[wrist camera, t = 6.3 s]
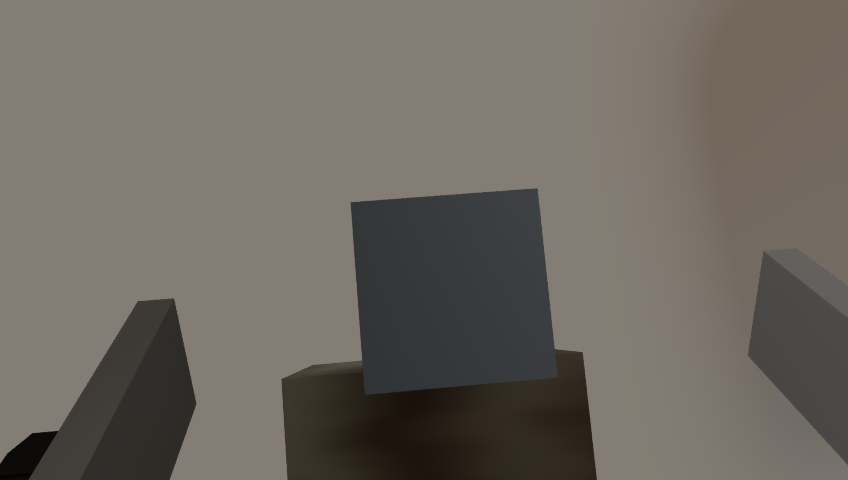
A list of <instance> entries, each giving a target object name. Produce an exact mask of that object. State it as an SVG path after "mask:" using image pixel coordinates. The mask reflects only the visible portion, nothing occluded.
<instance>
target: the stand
mask: <svg viewBox="0 0 848 480" xmlns="http://www.w3.org/2000/svg"><path fill="white" fill-rule="evenodd" d="M555 357H556V367H557V376H558V377H555V378H544V379H533V380H522V381H511V382H500V383H489V384H478V385H467V386H456V387H445V388H434V389H423V390H412V391H401V392H390V393H379V394H368V395H365V390H364V376H363V363H362V361H354V362H343V363H331V364H320V365H312V366H310V367H308V368H306V369H303V370H301V371H299V372H296V373H294V374H292V375H290V376H288V377H285V378H283V379H282V394H283V410H284V428H285V444H286V461H287V476H288V477H287V478H288V480H597V477H596V468H595V459H594V451H593V442H592V432H591V423H590V414H589V405H588V398H587V397H588V396H587V387H586V378H585V369H584V360H583V353H582V352H575V351H566V350H556V349H555Z"/></svg>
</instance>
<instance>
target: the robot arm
mask: <svg viewBox="0 0 848 480" xmlns="http://www.w3.org/2000/svg"><path fill="white" fill-rule="evenodd" d="M748 356H749V357H750V358H751V359H752V361H753V362H754V363H755V364H756V365H757V366H758V367H759V368H760V369H761V370H762V371H763V373H764V374H765V375H766V376H767V377H768V378H769V379H770V380H771V381H772V382H773V383H774V385H775V386H776V387H777V388H778V389H779V390H780V391H781V392H782V393H783V394H784V396H785V397H786V398H787V399H788V400H789V401H790V402H791V403H792V404H793V405H794V406H795V408H796V409H797V410H798V411H799V412H800V413H801V414H802V415H803V416H804V417H805V418H806V419H807V420H808V422H809V423H810V424H811V425H812V426H813V427H814V428H815V429H816V430H817V432H818V433H819V434H820V435H821V436H822V437H823V438H824V439H825V440H826V441H827V443H828V444H829V445H830V446H831V447H832V448H833V449H834V450H835V451H836V452H837V454H839V456H840V457H841V458H842V459H843V460H844V461H845V462H846V463H847V464H848V286H847V285H846V284H844V283H843V282H842V281H840V280H839V279H837V278H836V277H835V276H834V275H832V274H831V273H829V272H828V271H826V270H825V269H824V268H823V267H821V266H820V265H818V264H817V263H816V262H814V261H813V260H812V259H810V258H809V257H807V256H806V255H804V254H803V253H802V252H800V251H799V250H798V249H785V250H772V251H764V252H763V258H762V266H761V272H760V278H759V285H758V292H757V299H756V306H755V312H754V318H753V325H752V332H751V339H750V345H749V351H748ZM195 406H196V400H195V395H194V390H193V386H192V381H191V376H190V371H189V367H188V362H187V357H186V353H185V348H184V343H183V339H182V334H181V330H180V324H179V320H178V315H177V310H176V306H175V301H174V299H161V300H149V301H138V302H137V304H136V305H135V307H134V309H133V310H132V312H131V314H130V315H129V317H128V318H127V320H126V322H125V323H124V325H123V327H122V328H121V330H120V332H119V333H118V335H117V336H116V338H115V340H114V341H113V343H112V345H111V346H110V348H109V350H108V351H107V353H106V354H105V356H104V358H103V359H102V361H101V363H100V364H99V366H98V367H97V369H96V371H95V372H94V374H93V376H92V377H91V379H90V380H89V382H88V384H87V385H86V387H85V389H84V390H83V392H82V394H81V395H80V397H79V398H78V400H77V402H76V403H75V405H74V407H73V408H72V410H71V412H70V413H69V415H68V416H67V418H66V420H65V421H64V423H63V425H62V426H61V428H60V429H59V431H53V432H41V433H32V434H31V435H30V436H29V437H27V438H26V439H25V440H24V441H22V442H21V443H20V444H19V445H17V446H16V447H15V448H14V449H12V450H11V451H10V452H9V453H7V455H6V456H5V458H4V459H3V461H2V462H1V463H0V480H170V477H171V474H172V471H173V469H174V466H175V463H176V460H177V457H178V454H179V451H180V449H181V446H182V443H183V440H184V437H185V435H186V432H187V429H188V426H189V423H190V421H191V418H192V415H193V412H194V409H195Z"/></svg>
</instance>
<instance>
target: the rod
mask: <svg viewBox="0 0 848 480" xmlns="http://www.w3.org/2000/svg"><path fill="white" fill-rule="evenodd" d="M351 212H352V227H353V240H354V254H355V268H356V281H357V294H358V308H359V320H360V335H361V349H362V363H363V376H364V390H365V395H368V394H379V393H390V392H401V391H412V390H423V389H434V388H445V387H456V386H467V385H478V384H489V383H500V382H511V381H522V380H533V379H544V378H555V377H558V376H557V367H556V357H555V348H554V339H553V330H552V320H551V311H550V303H549V302H550V301H549V292H548V282H547V273H546V264H545V254H544V245H543V236H542V226H541V217H540V207H539V198H538V189H537V188H536V189H524V190H510V191H496V192H483V193H469V194H456V195H442V196H429V197H416V198H402V199H389V200H377V201H363V202H351Z"/></svg>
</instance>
